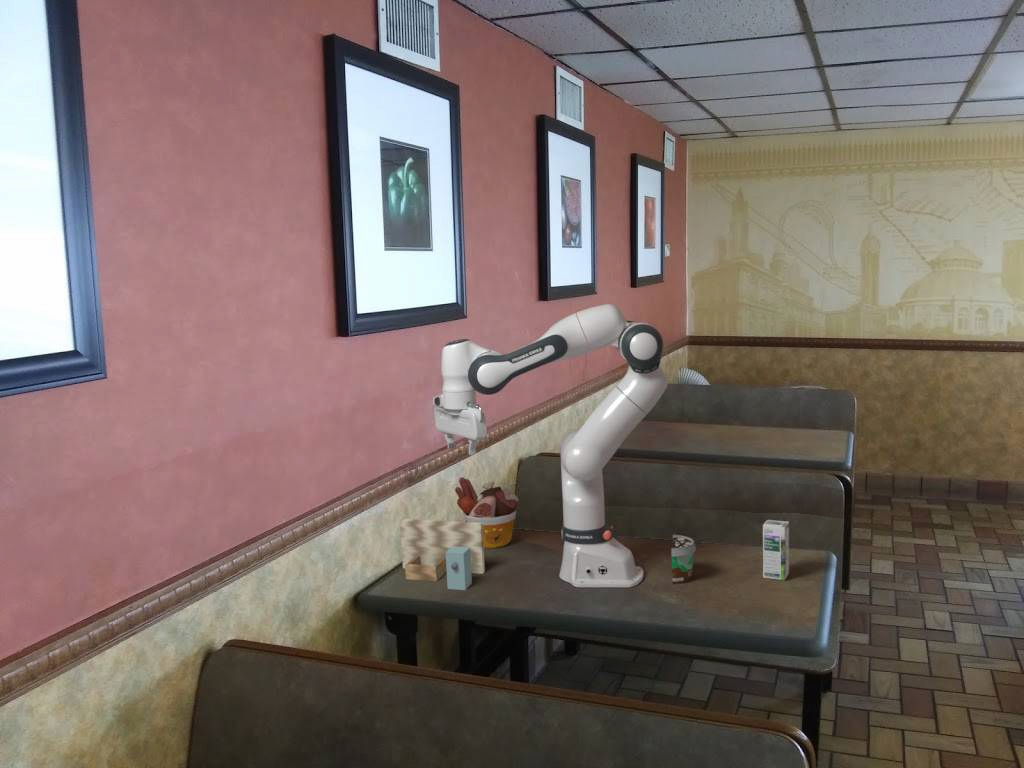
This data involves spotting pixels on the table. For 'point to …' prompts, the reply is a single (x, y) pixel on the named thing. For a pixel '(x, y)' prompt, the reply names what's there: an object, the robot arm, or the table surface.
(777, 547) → the syrup box
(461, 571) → the cabinet block
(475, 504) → the bucket of meat
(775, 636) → the table surface
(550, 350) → the robot arm
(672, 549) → the food container
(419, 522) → the cleat board
